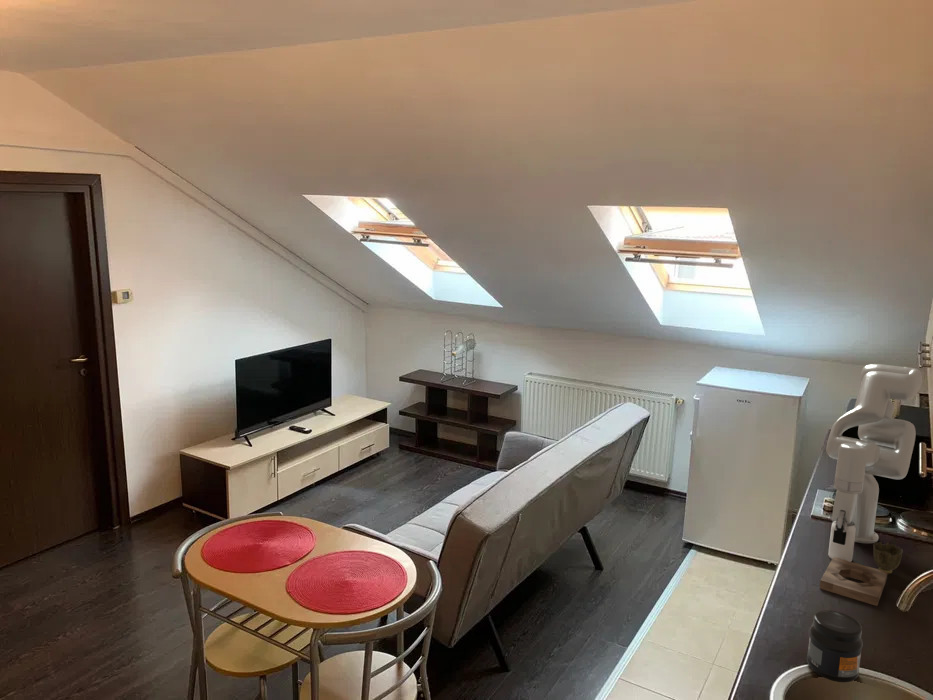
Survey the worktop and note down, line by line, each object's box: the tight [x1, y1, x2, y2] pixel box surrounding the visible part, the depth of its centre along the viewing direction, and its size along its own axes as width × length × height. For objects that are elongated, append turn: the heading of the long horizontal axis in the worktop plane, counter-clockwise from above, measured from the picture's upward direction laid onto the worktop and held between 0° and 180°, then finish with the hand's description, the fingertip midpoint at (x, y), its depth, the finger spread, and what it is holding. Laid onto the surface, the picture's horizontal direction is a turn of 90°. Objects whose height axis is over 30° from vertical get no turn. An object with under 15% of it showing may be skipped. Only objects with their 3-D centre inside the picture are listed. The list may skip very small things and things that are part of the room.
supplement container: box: [806, 609, 864, 683], centre depth 151 cm, size 10×10×12 cm
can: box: [828, 520, 856, 562], centre depth 204 cm, size 6×6×12 cm
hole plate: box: [819, 557, 888, 607], centre depth 189 cm, size 18×14×2 cm
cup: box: [872, 541, 904, 576], centre depth 196 cm, size 8×7×8 cm
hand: (841, 538), depth 203 cm, fingers open, 9 cm apart
